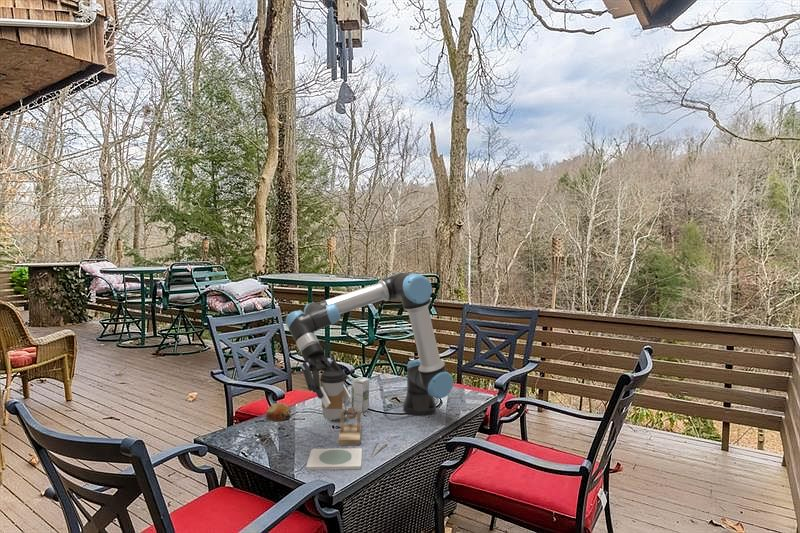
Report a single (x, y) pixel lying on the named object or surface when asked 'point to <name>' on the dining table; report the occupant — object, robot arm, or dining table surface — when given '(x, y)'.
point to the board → (335, 459)
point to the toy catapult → (350, 428)
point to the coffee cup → (333, 393)
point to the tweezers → (378, 450)
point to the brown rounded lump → (278, 412)
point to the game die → (342, 409)
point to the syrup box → (360, 394)
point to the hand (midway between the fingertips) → (338, 402)
